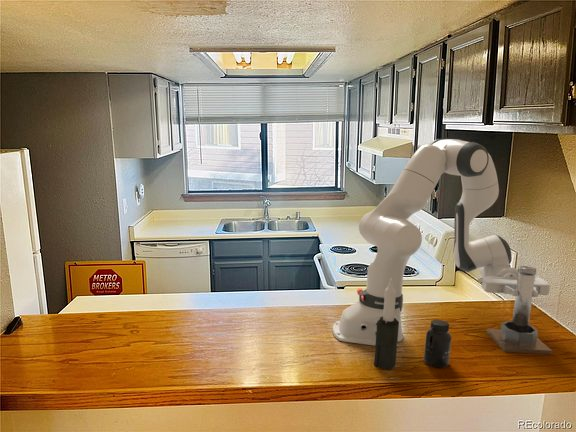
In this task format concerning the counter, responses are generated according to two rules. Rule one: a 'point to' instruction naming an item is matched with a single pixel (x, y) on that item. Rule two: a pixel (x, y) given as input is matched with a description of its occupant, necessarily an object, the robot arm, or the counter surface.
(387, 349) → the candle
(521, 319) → the grey tall capped cylinder
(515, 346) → the duct collar
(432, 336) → the supplement bottle
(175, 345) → the counter surface
